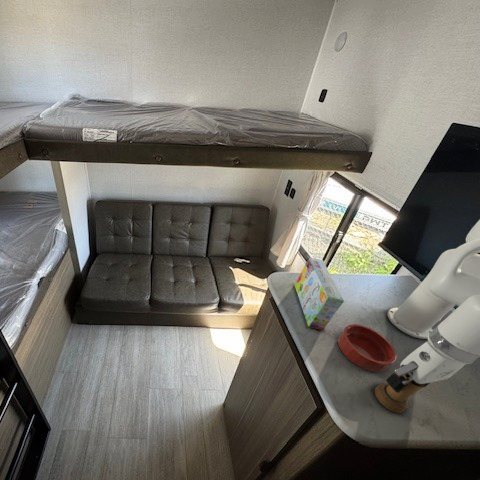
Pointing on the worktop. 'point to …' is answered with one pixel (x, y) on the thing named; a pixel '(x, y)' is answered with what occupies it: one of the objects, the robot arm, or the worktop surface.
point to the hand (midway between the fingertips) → (404, 383)
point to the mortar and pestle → (396, 395)
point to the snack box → (317, 294)
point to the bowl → (366, 348)
